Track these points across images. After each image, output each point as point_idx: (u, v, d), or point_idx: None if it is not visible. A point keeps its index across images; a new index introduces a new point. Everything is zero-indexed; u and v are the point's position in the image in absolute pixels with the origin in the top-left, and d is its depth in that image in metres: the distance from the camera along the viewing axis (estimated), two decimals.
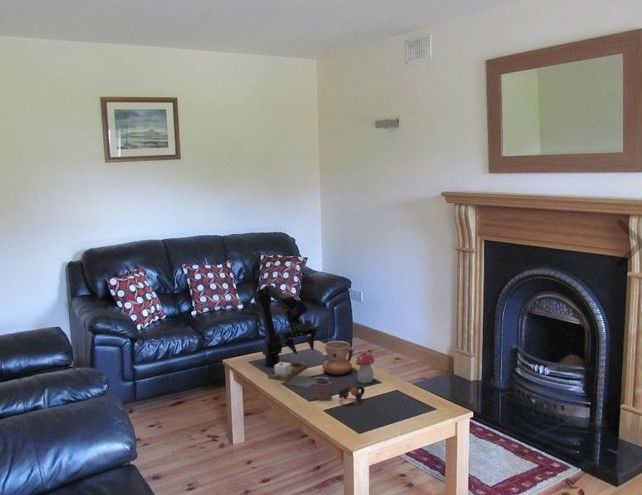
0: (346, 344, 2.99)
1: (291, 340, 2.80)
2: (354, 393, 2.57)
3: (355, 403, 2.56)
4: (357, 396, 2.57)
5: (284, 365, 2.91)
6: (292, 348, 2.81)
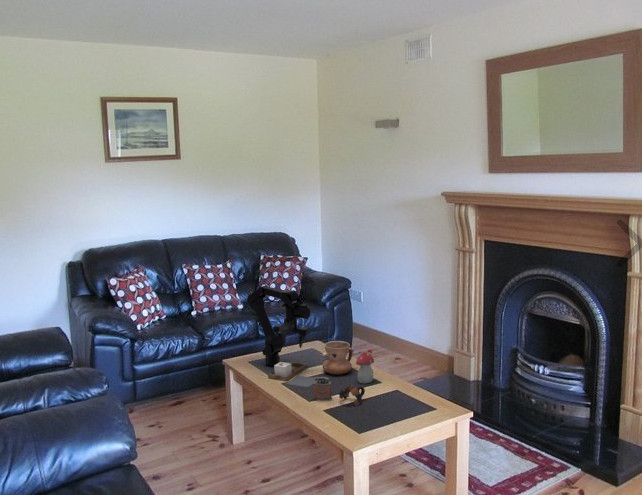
0: (346, 344, 2.99)
1: (278, 334, 3.00)
2: (354, 393, 2.57)
3: (355, 403, 2.56)
4: (357, 396, 2.57)
5: (284, 365, 2.91)
6: None
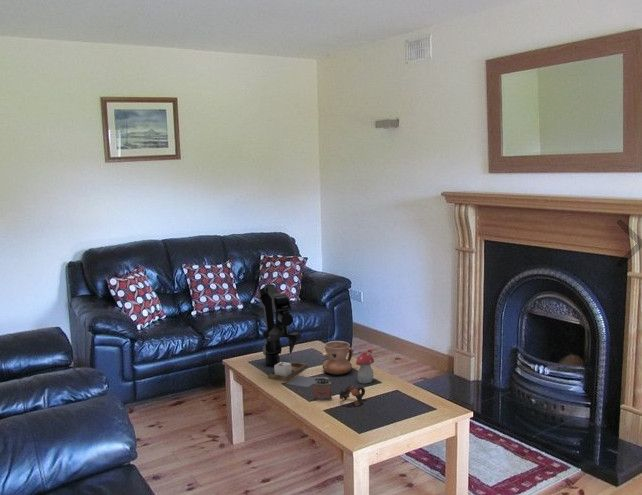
0: (346, 344, 2.99)
1: (268, 339, 2.91)
2: (355, 394, 2.56)
3: (356, 404, 2.55)
4: (358, 397, 2.56)
5: (284, 365, 2.91)
6: None
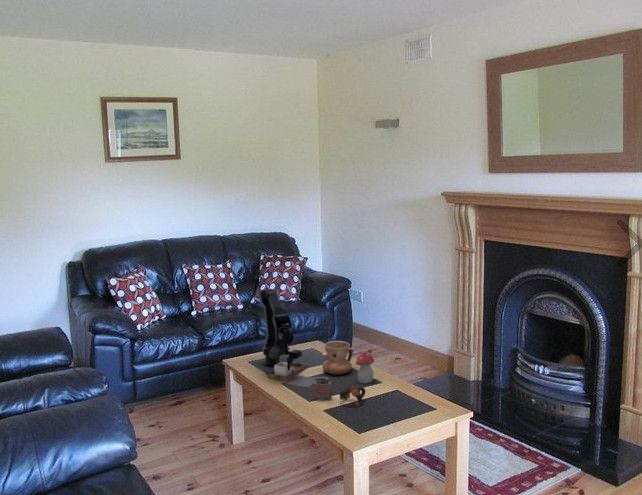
0: (346, 344, 2.99)
1: (271, 357, 2.92)
2: (355, 394, 2.56)
3: (356, 404, 2.55)
4: (358, 397, 2.56)
5: (284, 365, 2.91)
6: None
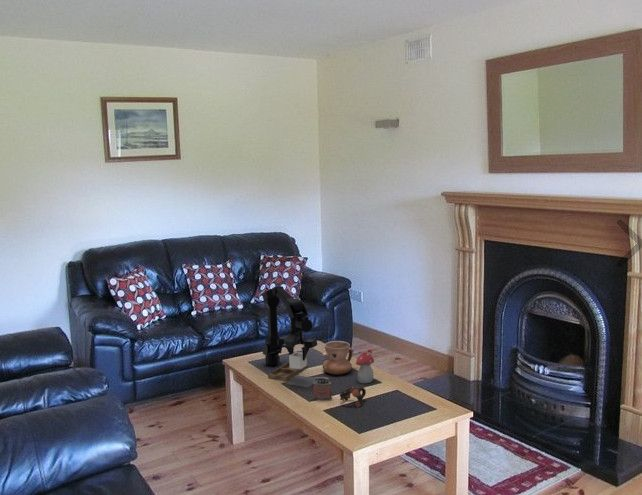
0: (346, 344, 2.99)
1: (286, 347, 2.85)
2: (356, 395, 2.55)
3: (357, 405, 2.54)
4: (359, 398, 2.55)
5: (299, 355, 2.84)
6: None
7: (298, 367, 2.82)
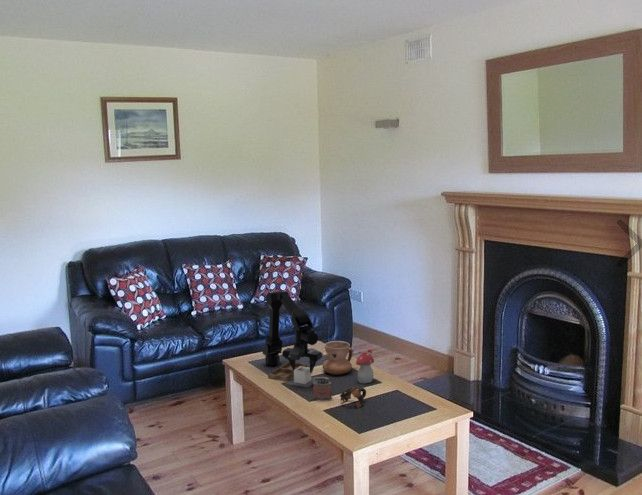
0: (346, 344, 2.99)
1: (288, 359, 2.85)
2: (356, 395, 2.54)
3: (357, 405, 2.54)
4: (359, 398, 2.55)
5: (304, 370, 2.83)
6: None
7: (303, 382, 2.82)
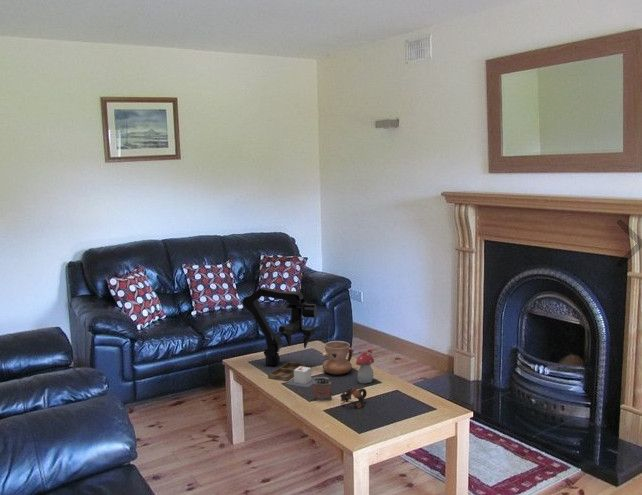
0: (346, 344, 2.99)
1: (284, 334, 3.05)
2: (357, 396, 2.54)
3: (358, 406, 2.53)
4: (360, 399, 2.54)
5: (304, 370, 2.83)
6: None
7: (303, 382, 2.82)
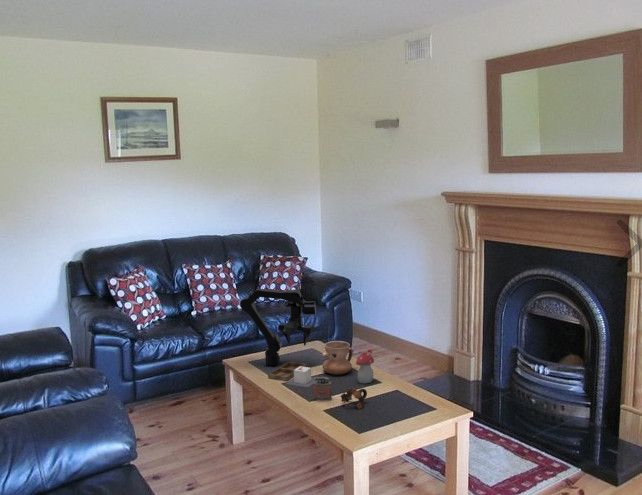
0: (346, 344, 2.99)
1: (283, 332, 3.08)
2: (357, 396, 2.53)
3: (358, 406, 2.53)
4: (360, 399, 2.54)
5: (304, 370, 2.83)
6: None
7: (303, 382, 2.82)
